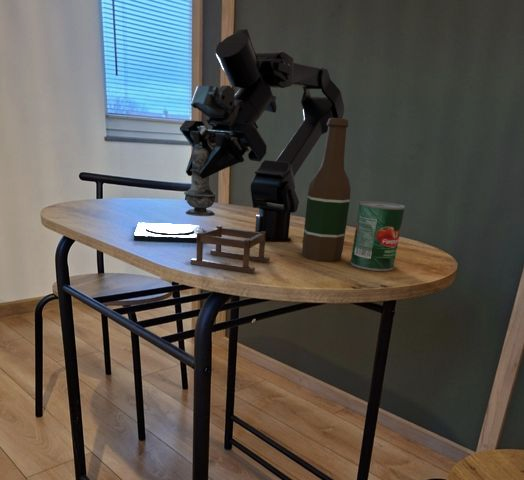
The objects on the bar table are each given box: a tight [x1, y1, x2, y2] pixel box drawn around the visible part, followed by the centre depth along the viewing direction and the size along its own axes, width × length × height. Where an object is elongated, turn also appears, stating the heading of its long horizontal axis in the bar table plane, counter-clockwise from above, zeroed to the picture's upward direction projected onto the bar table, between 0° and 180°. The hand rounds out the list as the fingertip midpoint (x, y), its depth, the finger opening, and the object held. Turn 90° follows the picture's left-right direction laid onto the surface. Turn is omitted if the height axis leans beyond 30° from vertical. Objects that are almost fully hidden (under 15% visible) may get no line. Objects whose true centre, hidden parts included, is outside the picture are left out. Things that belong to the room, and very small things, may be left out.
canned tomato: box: [349, 200, 406, 272], centre depth 85 cm, size 8×8×11 cm
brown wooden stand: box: [190, 225, 270, 274], centre depth 80 cm, size 9×11×5 cm
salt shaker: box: [183, 142, 218, 217], centre depth 83 cm, size 6×6×12 cm
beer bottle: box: [301, 118, 351, 262], centre depth 86 cm, size 8×8×24 cm
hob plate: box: [133, 222, 204, 244], centre depth 100 cm, size 14×14×1 cm
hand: (194, 175), depth 82 cm, fingers closed on salt shaker, 3 cm apart
